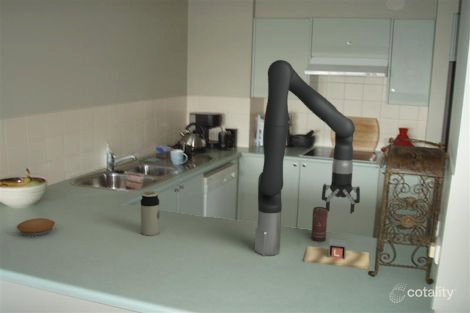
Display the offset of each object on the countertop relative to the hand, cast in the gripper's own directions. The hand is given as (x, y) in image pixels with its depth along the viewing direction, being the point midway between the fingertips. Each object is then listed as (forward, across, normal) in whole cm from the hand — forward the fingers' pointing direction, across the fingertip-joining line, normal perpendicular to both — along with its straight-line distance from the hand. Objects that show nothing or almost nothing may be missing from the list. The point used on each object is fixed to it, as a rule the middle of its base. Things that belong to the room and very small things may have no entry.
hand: (339, 212), depth 185 cm
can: (+19, -8, +18) cm, 27 cm away
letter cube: (+17, 0, -1) cm, 17 cm away
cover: (+17, 0, -1) cm, 17 cm away
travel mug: (+19, -81, +5) cm, 83 cm away
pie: (+19, -128, -9) cm, 130 cm away
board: (+18, 0, -1) cm, 18 cm away
